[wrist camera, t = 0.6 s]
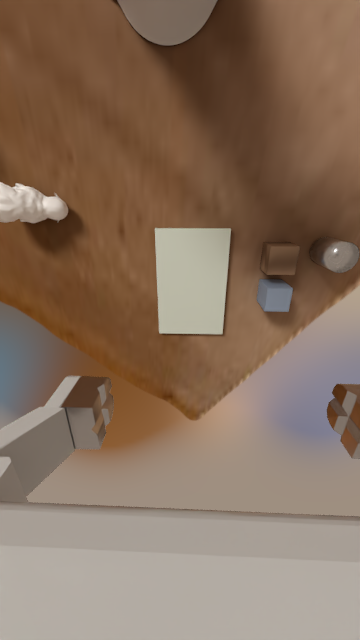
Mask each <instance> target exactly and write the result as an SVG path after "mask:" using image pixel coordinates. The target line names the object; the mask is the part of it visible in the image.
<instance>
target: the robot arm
mask: <svg viewBox="0 0 360 640" xmlns="http://www.w3.org/2000/svg"><path fill="white" fill-rule="evenodd" d="M117 2H118V3H119V5H120V7H121V8H122V10H123V12H124V14H125V16H126V18H127V19H128V21H129V22H130V24H131V25H132V26H133V28H134V29H135V30H136V31H137V32H138V33H139V34H140V35H141V36H143V37H144V38H146V39H147V40H149V41H151V42H153V43H156V44H159V45H176V44H180V43H182V42H184V41H186V40H188V39H190V38H191V37H192V36H194V35H195V34H196V33H197V32H198V31H199V30H200V29H201V28H202V27H203V25H204V24H205V23H206V21H207V19H208V18H209V16H210V14H211V12H212V10H213V8H214V6H215V4H216V2H217V0H117ZM111 387H112V386H111V380H110V378H108V377H90V376H67V377H66V378H65V379H64V380H63V381H62V383H61V384H60V386H59V387H58V388H57V390H56V391H55V393H54V394H53V395H52V397H51V398H50V399H49V401H48V402H47V403H46V405H45V406H44V407H39V408H37V409H35V410H34V411H32V412H30V413H28V414H26V415H25V416H23V417H21V418H19V419H18V420H16V421H14V422H13V423H11V424H9V425H7V426H6V427H4V428H2V429H0V640H360V517H358V516H333V515H309V514H283V513H261V512H240V511H239V512H238V511H217V510H216V511H215V510H193V509H171V508H148V507H147V508H146V507H124V506H100V505H78V504H77V505H76V504H54V503H31V502H28V500H27V498H26V496H27V495H29V493H31V492H32V491H33V490H34V489H35V488H36V487H37V486H38V485H39V484H40V483H41V482H42V481H43V480H44V479H45V478H46V477H47V476H49V475H50V473H52V472H53V471H54V470H55V469H56V468H57V467H58V466H59V465H60V464H61V463H62V462H63V461H64V460H65V459H66V458H67V457H68V456H70V455H71V454H72V453H73V452H74V451H75V449H100V448H101V445H102V442H103V440H104V437H105V434H106V430H105V426H106V425H107V424H108V423H110V421H111V418H112V414H113V408H114V406H113V405H114V404H113V403H114V401H113V396H112V395H111V394H110V393H109V392H110V389H111ZM332 394H333V395H334V397H335V398H334V399H333V400H331V401H330V402H329V404H328V407H327V418H328V420H329V423H330V425H331V427H332V428H333V430H334V431H336V432H337V433H339V434H340V435H341V442H342V444H343V445H344V447H345V449H346V450H347V451H348V453H349V455H350V456H351V458H354V459H360V384H337V385H336V386H335V387H334V389H333V391H332Z"/></svg>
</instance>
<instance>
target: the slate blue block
mask: <svg viewBox="0 0 360 640" xmlns="http://www.w3.org/2000/svg"><path fill="white" fill-rule="evenodd" d="M292 292H293V288H292V287H290V286H289V285H288V284H287V283H286V282H284V281H283V280H282V279H260V280H259V287H258V294H257V301H258V303H259V304H260V306H261V307H262V309H263V310H264V311H280V312H289V307H290V302H291V297H292Z"/></svg>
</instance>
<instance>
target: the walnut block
mask: <svg viewBox="0 0 360 640" xmlns="http://www.w3.org/2000/svg"><path fill="white" fill-rule="evenodd" d="M299 251H300V246H298V245H295V244H293V243H291V242H263V249H262V256H261V263H260V269H261V270H262V271H263V272H264V273H265V274H266V275H295V271H296V266H297V261H298V256H299Z"/></svg>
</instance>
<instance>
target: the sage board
mask: <svg viewBox="0 0 360 640" xmlns="http://www.w3.org/2000/svg"><path fill="white" fill-rule="evenodd" d="M230 235H231V228H155V243H156V267H157V290H158V313H159V333H170V334H223V322H224V309H225V297H226V285H227V272H228V260H229V248H230Z"/></svg>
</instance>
